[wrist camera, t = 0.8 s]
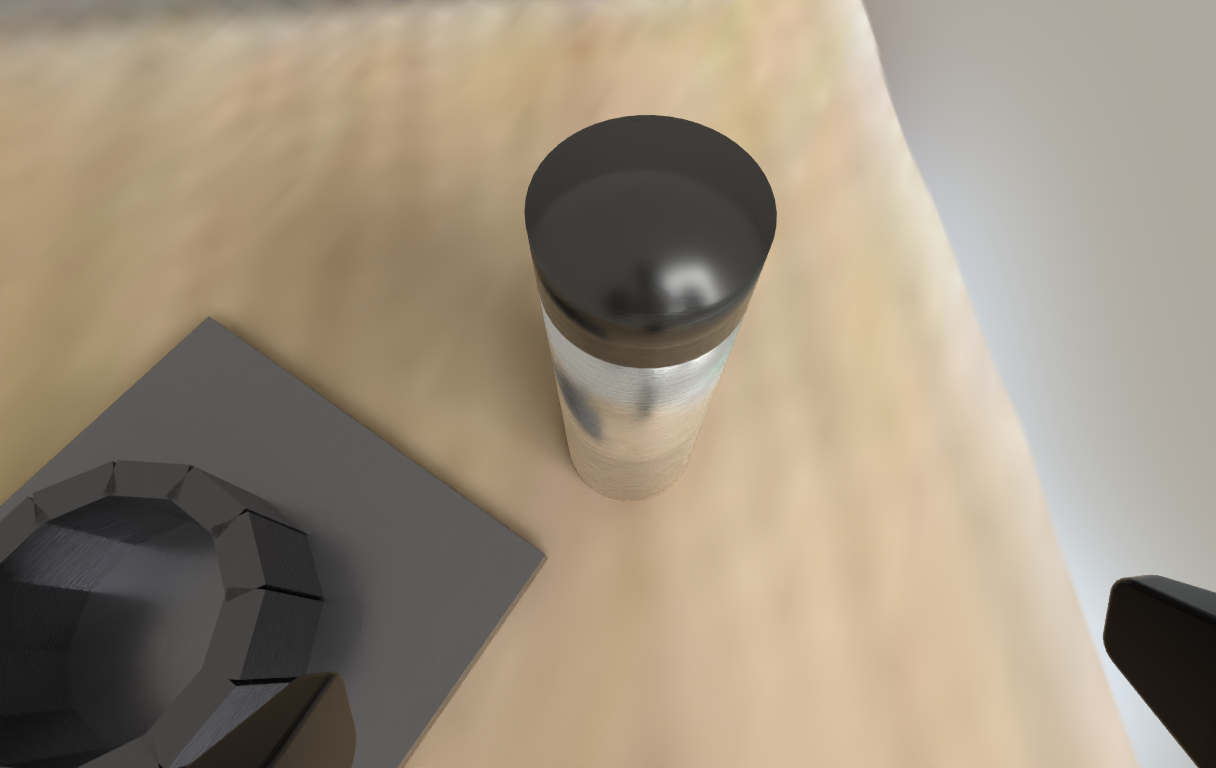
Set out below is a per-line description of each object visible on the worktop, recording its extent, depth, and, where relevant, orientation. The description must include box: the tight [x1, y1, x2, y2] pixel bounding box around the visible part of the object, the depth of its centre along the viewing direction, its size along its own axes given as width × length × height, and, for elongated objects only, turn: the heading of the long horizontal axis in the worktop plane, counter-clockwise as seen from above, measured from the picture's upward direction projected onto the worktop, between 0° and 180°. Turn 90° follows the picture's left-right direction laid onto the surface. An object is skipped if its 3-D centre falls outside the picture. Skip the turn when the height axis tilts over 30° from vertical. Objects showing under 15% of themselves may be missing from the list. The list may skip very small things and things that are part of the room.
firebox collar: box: [0, 317, 547, 768], centre depth 17 cm, size 16×16×4 cm
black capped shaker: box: [525, 115, 777, 501], centre depth 16 cm, size 4×4×12 cm
